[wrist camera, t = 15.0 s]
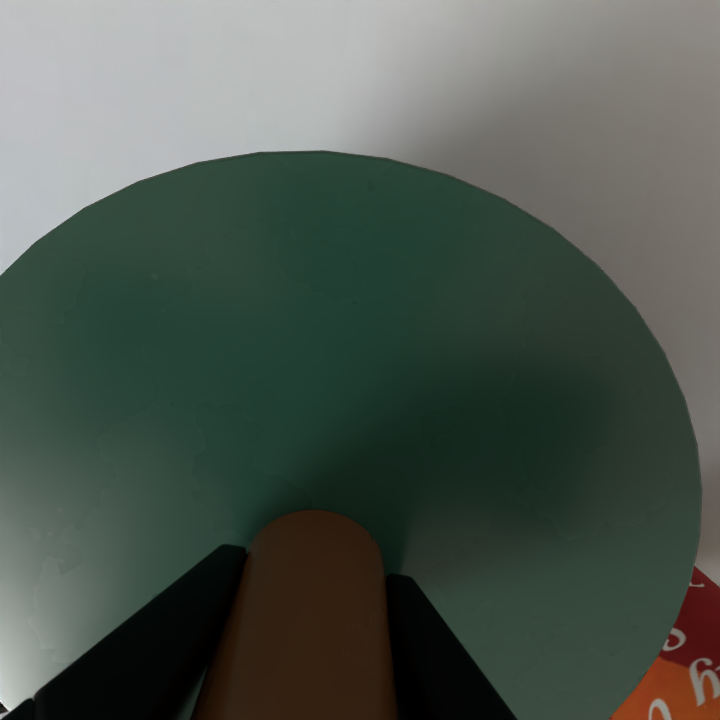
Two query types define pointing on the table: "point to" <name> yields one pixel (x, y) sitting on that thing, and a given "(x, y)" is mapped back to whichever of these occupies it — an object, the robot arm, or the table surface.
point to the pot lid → (339, 438)
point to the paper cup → (684, 664)
